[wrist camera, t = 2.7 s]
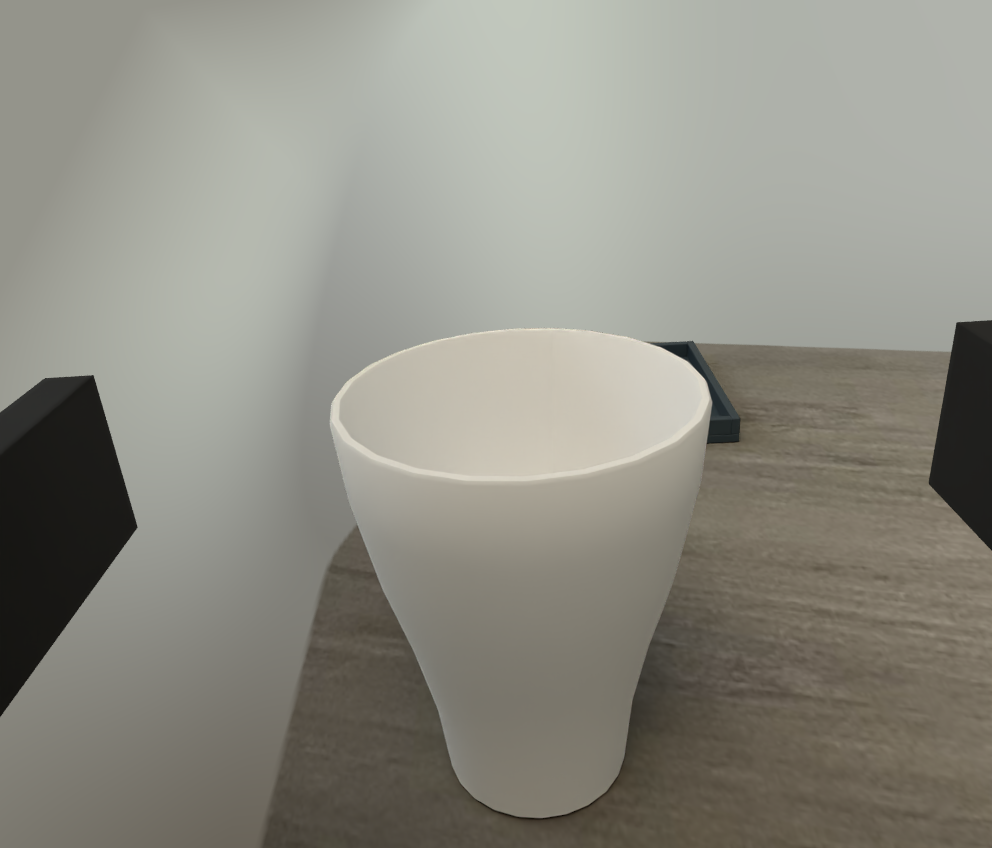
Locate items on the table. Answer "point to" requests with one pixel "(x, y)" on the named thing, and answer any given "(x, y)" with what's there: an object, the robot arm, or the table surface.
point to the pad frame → (722, 411)
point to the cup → (527, 538)
